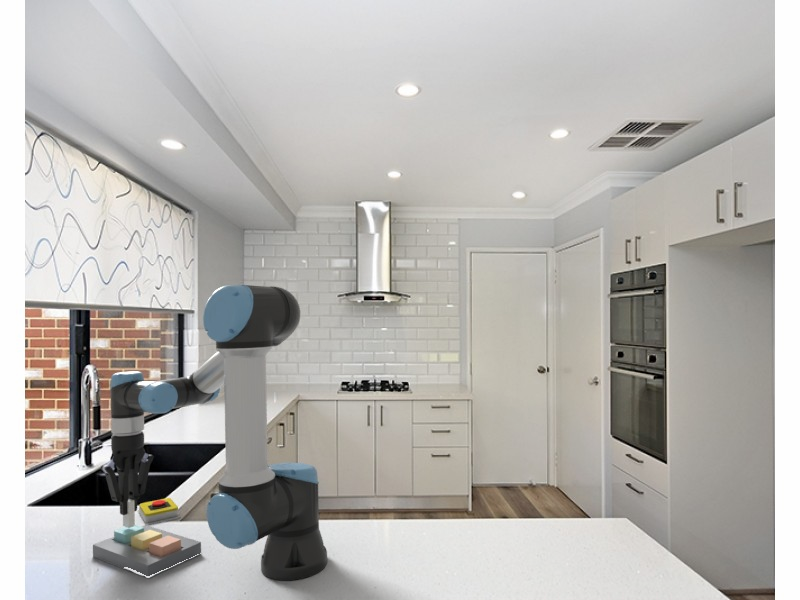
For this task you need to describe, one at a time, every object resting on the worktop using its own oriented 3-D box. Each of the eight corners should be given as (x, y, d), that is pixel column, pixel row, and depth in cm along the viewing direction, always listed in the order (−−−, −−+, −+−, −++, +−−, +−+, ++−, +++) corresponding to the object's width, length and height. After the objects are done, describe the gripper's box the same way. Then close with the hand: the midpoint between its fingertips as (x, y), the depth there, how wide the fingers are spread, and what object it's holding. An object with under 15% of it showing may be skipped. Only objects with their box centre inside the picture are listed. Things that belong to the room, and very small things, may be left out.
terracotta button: (181, 552, 129) (180, 539, 129) (162, 560, 125) (161, 547, 125) (168, 547, 132) (168, 535, 132) (149, 555, 127) (149, 542, 127)
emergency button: (146, 511, 152) (136, 498, 164) (146, 527, 152) (137, 512, 164) (180, 504, 157) (169, 491, 170) (180, 519, 157) (169, 505, 170)
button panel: (201, 554, 132) (200, 542, 132) (148, 578, 120) (147, 565, 120) (145, 536, 144) (145, 525, 144) (92, 556, 132) (92, 544, 132)
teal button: (144, 539, 137) (144, 527, 137) (125, 547, 133) (125, 534, 133) (133, 535, 140) (132, 524, 140) (114, 543, 135) (114, 531, 136)
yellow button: (162, 545, 133) (162, 533, 133) (143, 553, 129) (143, 540, 129) (150, 541, 136) (150, 529, 136) (131, 549, 131) (131, 536, 132)
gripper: (143, 426, 145) (144, 514, 144) (94, 436, 134) (94, 532, 133) (160, 429, 141) (161, 520, 140) (110, 439, 130) (111, 538, 129)
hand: (128, 525), depth 136 cm, fingers closed
